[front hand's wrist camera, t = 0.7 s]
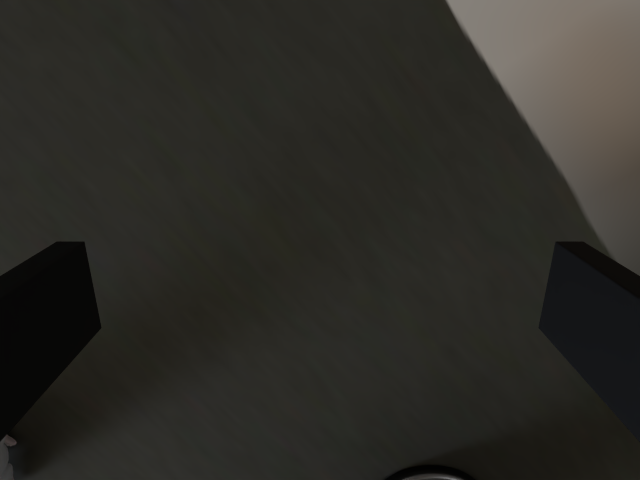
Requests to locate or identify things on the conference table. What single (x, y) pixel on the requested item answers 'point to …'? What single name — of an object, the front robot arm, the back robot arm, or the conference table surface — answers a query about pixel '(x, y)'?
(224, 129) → the conference table surface
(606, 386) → the front robot arm
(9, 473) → the toy
